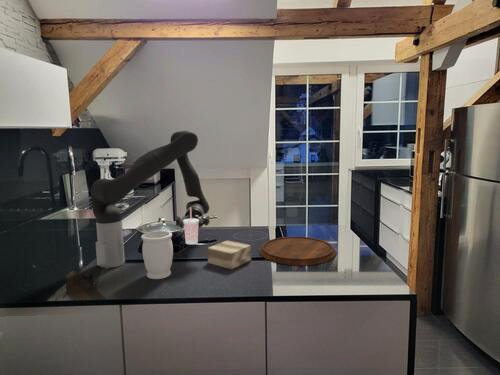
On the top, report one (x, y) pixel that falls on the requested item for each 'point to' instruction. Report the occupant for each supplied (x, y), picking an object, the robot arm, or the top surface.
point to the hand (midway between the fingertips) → (190, 225)
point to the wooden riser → (229, 254)
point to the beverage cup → (191, 230)
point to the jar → (157, 253)
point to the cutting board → (297, 251)
